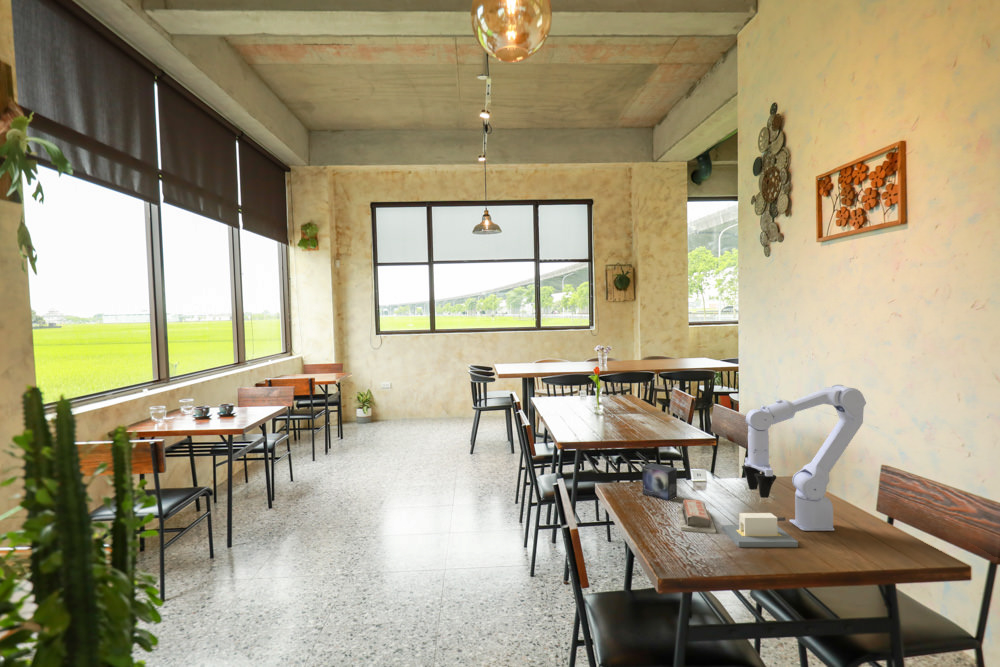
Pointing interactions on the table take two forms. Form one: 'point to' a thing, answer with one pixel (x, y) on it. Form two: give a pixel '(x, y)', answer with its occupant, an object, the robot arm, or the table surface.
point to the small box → (660, 481)
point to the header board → (759, 538)
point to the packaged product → (695, 517)
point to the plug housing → (759, 523)
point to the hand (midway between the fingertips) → (758, 493)
